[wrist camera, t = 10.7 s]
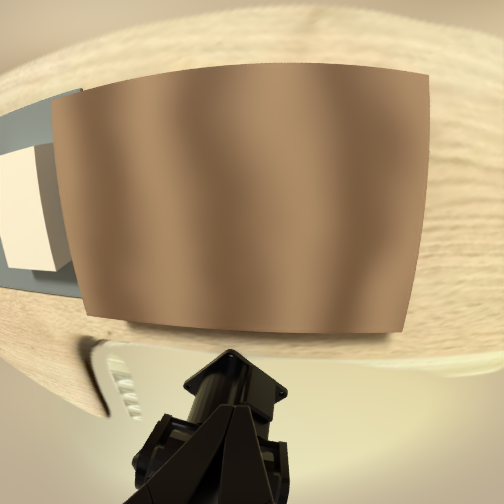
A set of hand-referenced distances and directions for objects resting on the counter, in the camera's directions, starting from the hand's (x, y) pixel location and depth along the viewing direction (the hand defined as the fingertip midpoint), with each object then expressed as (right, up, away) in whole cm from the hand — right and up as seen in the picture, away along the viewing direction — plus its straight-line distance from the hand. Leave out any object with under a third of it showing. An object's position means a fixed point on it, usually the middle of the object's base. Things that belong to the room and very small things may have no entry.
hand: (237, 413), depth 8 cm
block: (0, +8, +11) cm, 14 cm away
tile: (-17, +8, +11) cm, 22 cm away
